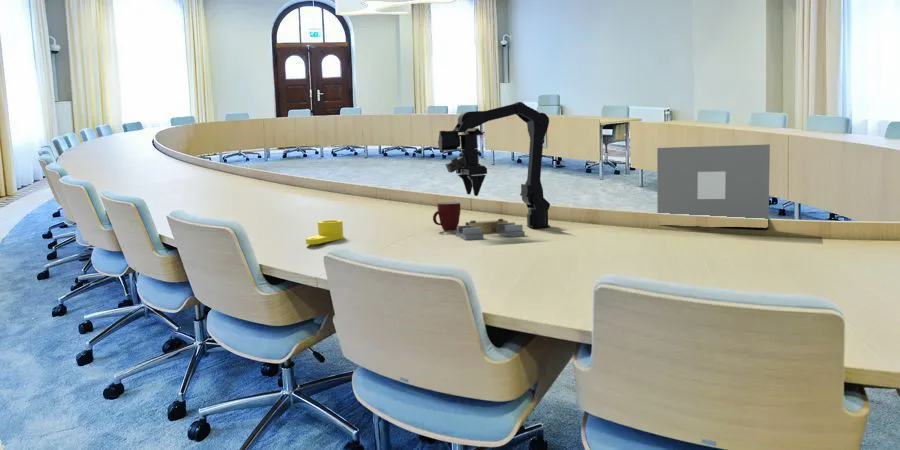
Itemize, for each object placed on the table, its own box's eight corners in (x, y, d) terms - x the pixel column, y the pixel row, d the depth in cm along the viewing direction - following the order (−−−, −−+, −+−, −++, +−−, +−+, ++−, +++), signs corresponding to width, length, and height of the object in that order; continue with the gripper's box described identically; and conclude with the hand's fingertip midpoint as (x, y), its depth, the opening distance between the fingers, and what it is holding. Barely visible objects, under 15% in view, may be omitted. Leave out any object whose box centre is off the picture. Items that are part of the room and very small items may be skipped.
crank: (326, 236, 245) (325, 220, 244) (347, 237, 242) (346, 220, 241) (298, 244, 228) (297, 226, 227) (320, 244, 225) (319, 226, 224)
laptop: (768, 219, 247) (770, 143, 244) (768, 228, 224) (769, 144, 221) (667, 218, 262) (667, 146, 259) (657, 227, 238) (657, 147, 235)
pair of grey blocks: (512, 231, 237) (512, 221, 237) (524, 236, 226) (524, 225, 225) (456, 235, 232) (455, 225, 232) (465, 240, 221) (465, 229, 220)
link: (504, 231, 243) (503, 218, 242) (508, 232, 239) (507, 219, 238) (465, 233, 239) (465, 220, 239) (469, 235, 236) (468, 221, 235)
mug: (442, 233, 239) (441, 205, 237) (428, 232, 245) (427, 204, 244) (465, 230, 245) (464, 202, 244) (451, 229, 251) (450, 201, 250)
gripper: (440, 150, 242) (443, 195, 244) (453, 150, 224) (456, 198, 226) (470, 148, 244) (473, 192, 246) (486, 148, 226) (489, 196, 228)
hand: (472, 195), depth 237 cm, fingers open, 9 cm apart
